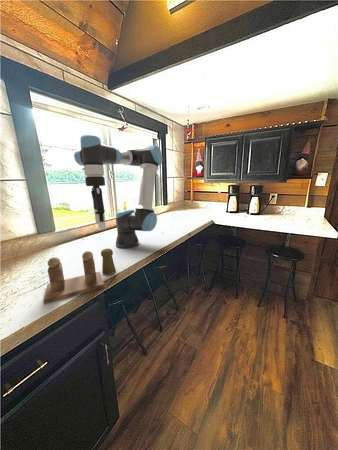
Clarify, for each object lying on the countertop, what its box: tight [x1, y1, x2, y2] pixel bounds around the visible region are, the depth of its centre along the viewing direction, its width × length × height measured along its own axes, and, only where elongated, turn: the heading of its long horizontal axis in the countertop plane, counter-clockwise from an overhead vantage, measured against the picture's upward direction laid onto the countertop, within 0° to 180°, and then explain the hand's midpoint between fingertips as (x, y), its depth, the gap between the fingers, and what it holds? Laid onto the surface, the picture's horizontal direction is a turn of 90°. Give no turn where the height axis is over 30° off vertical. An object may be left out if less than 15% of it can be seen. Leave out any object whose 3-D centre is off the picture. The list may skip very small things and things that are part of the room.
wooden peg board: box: [43, 250, 105, 304], centre depth 71 cm, size 20×12×14 cm, turn 118°
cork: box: [100, 248, 116, 276], centre depth 84 cm, size 6×6×11 cm
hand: (100, 226), depth 80 cm, fingers open, 13 cm apart
